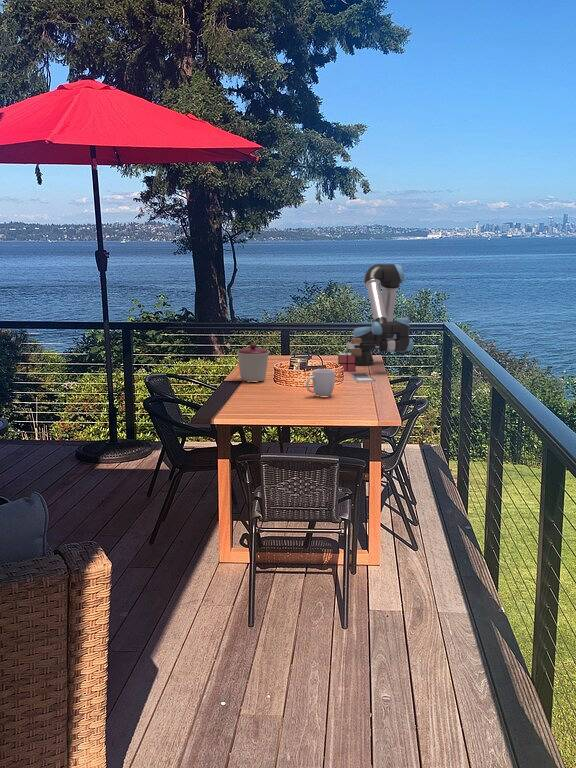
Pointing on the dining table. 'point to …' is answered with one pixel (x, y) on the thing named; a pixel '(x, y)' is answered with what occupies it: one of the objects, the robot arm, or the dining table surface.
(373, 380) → the print board
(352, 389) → the dining table surface
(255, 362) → the canister
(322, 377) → the mug
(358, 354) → the stamp
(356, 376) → the ink pad
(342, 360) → the puzzle cube
